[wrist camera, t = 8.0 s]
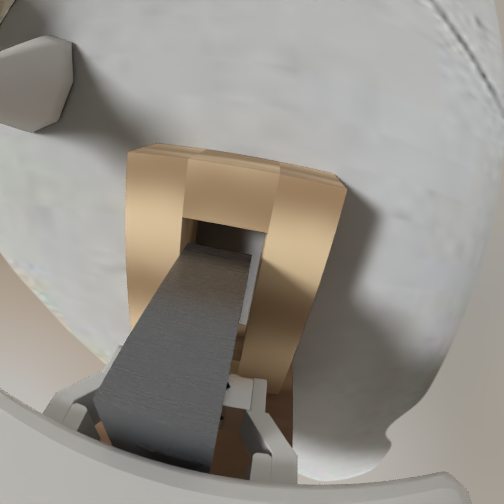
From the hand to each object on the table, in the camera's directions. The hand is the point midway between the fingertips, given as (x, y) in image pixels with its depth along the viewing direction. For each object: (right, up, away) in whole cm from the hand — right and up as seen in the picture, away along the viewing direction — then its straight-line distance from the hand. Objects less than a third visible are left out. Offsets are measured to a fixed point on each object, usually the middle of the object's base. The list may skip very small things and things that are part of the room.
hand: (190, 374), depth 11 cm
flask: (-12, +17, +3) cm, 21 cm away
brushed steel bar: (0, +2, +4) cm, 5 cm away
